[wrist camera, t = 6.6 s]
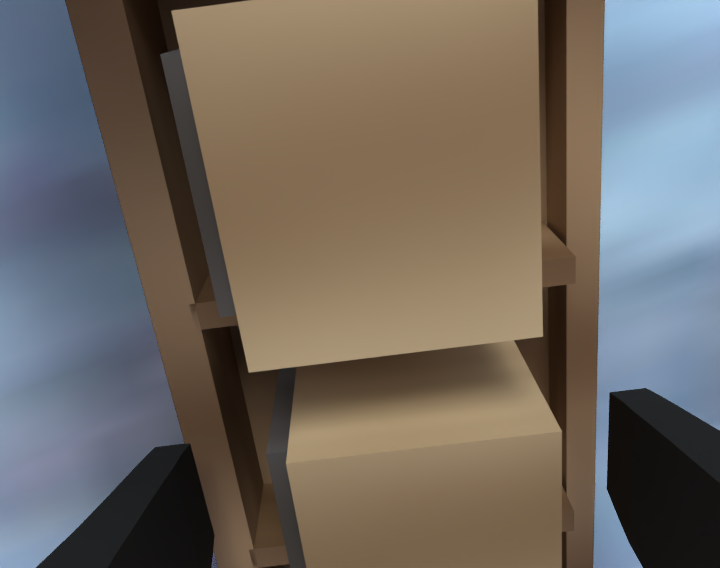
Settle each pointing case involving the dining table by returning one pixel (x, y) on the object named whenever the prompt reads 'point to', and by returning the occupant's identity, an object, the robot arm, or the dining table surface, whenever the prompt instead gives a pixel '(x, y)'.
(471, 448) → the tan rectangular block
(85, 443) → the dining table surface
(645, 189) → the dining table surface
